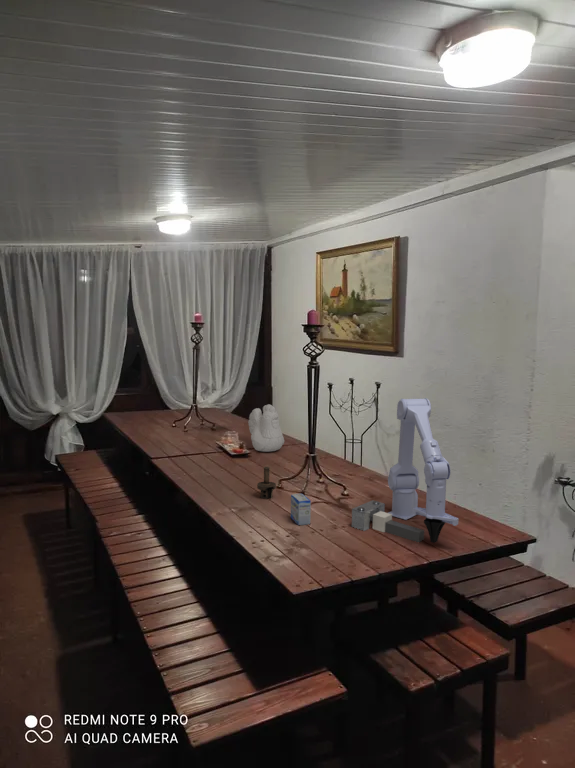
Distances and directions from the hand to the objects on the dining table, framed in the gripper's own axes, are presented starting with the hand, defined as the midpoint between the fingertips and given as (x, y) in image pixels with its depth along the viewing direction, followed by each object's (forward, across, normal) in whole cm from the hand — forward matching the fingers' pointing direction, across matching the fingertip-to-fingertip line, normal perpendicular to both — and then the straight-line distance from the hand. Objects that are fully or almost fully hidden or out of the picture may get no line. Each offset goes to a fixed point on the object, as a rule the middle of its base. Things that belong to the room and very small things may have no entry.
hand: (434, 541), depth 175 cm
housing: (+1, -25, 0) cm, 25 cm away
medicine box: (+1, -43, -14) cm, 45 cm away
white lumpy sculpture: (+1, -125, +50) cm, 135 cm away
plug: (+1, -13, 0) cm, 13 cm away
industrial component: (+1, -70, -4) cm, 70 cm away
